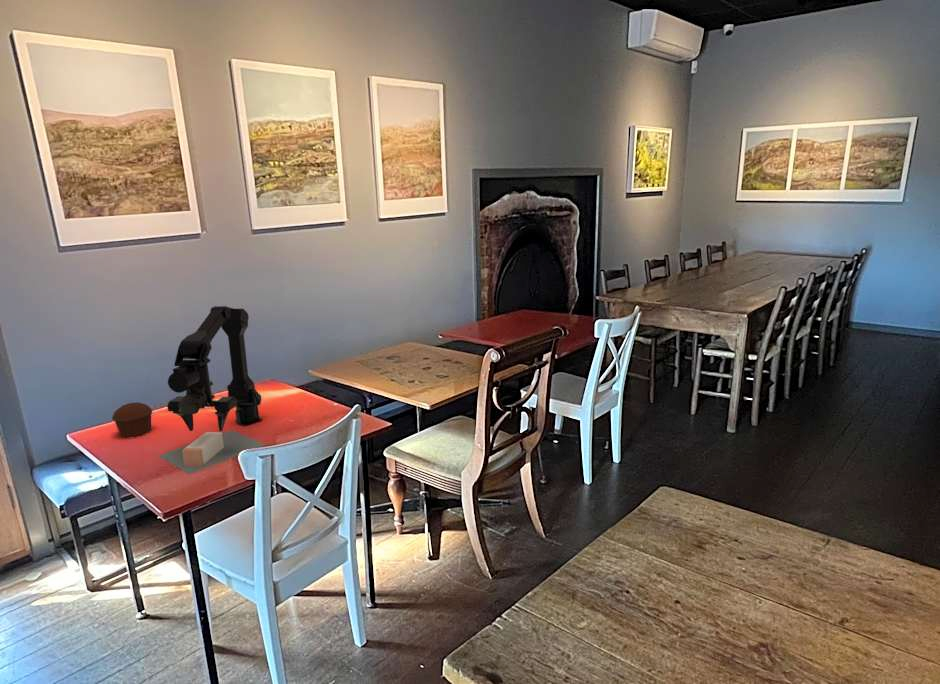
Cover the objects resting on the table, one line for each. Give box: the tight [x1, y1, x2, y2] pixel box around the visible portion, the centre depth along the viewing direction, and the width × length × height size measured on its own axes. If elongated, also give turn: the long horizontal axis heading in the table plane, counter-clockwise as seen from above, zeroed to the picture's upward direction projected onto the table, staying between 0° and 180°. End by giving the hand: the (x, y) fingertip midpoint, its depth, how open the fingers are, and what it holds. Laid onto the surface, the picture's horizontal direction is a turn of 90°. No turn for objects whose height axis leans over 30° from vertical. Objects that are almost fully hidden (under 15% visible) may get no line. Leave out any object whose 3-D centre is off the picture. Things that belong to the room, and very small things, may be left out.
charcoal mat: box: [157, 429, 266, 475], centre depth 177 cm, size 24×20×1 cm
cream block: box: [182, 431, 224, 467], centre depth 172 cm, size 5×5×13 cm
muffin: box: [111, 402, 153, 438], centre depth 191 cm, size 12×11×10 cm
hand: (206, 430), depth 173 cm, fingers open, 9 cm apart
